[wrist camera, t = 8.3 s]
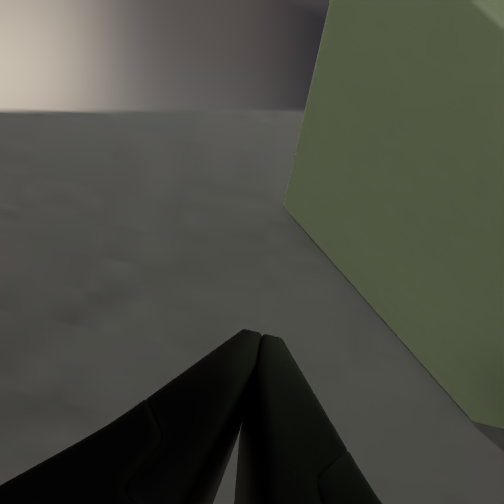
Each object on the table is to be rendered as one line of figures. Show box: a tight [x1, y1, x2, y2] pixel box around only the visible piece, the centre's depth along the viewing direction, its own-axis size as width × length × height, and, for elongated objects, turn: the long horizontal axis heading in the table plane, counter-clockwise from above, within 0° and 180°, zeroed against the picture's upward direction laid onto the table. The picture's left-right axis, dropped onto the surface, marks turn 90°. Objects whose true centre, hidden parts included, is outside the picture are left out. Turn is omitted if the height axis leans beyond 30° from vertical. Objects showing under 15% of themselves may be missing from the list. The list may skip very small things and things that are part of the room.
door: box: [283, 0, 504, 429], centre depth 12 cm, size 11×1×13 cm, turn 39°
